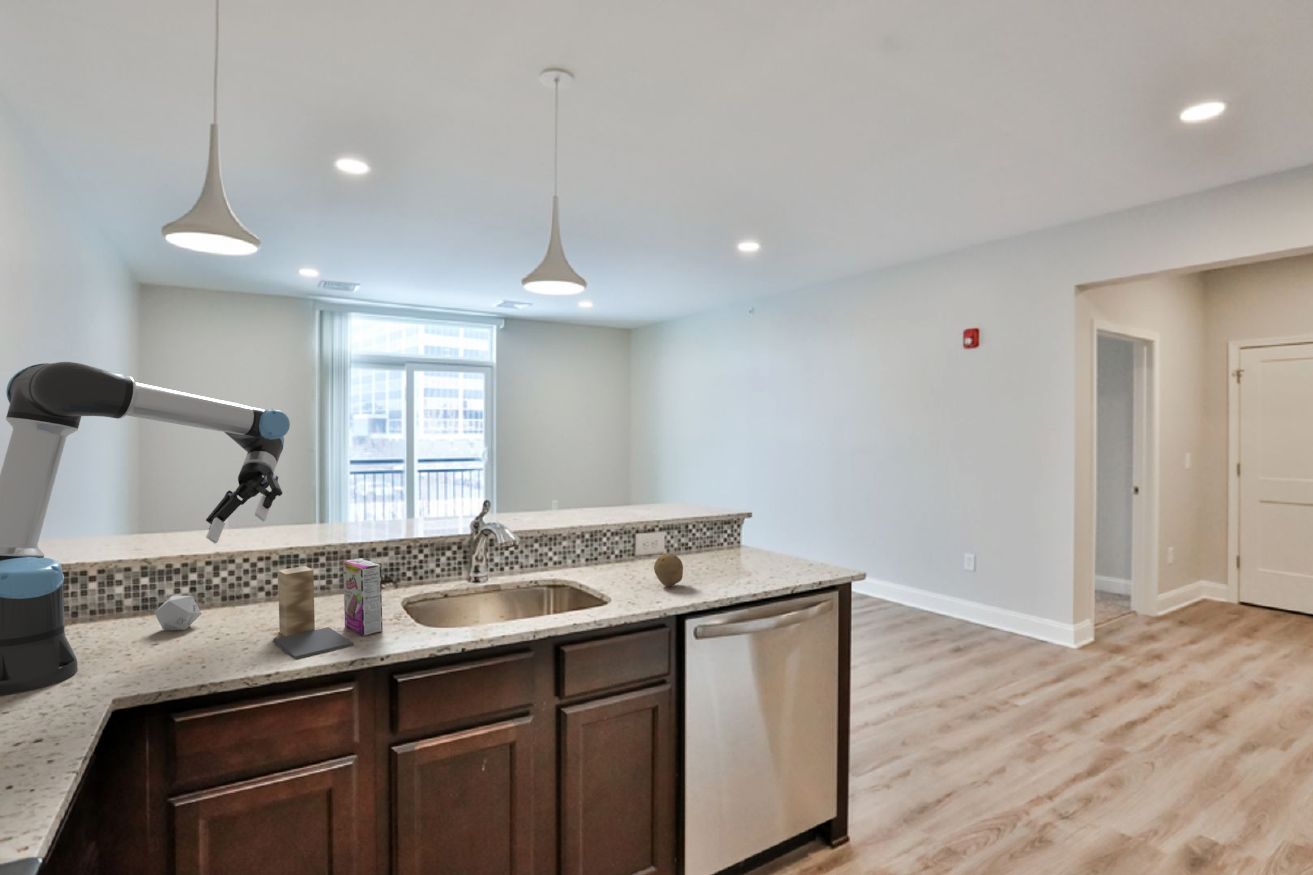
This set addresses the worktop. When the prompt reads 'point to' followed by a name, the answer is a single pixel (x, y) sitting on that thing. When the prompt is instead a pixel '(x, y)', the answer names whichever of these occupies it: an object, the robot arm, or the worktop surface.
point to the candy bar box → (362, 596)
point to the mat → (312, 642)
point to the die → (177, 613)
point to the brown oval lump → (668, 569)
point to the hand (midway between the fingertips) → (235, 528)
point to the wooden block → (296, 600)
